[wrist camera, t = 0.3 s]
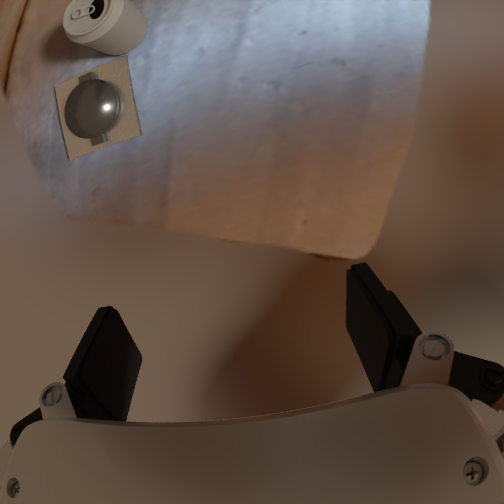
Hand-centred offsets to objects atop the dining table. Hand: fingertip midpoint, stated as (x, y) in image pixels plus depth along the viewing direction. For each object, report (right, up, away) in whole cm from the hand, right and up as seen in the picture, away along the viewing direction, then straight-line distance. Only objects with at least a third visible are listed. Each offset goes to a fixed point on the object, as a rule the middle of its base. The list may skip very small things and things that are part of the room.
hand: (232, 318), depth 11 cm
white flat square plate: (-21, +23, +21) cm, 37 cm away
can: (-17, +32, +17) cm, 40 cm away
